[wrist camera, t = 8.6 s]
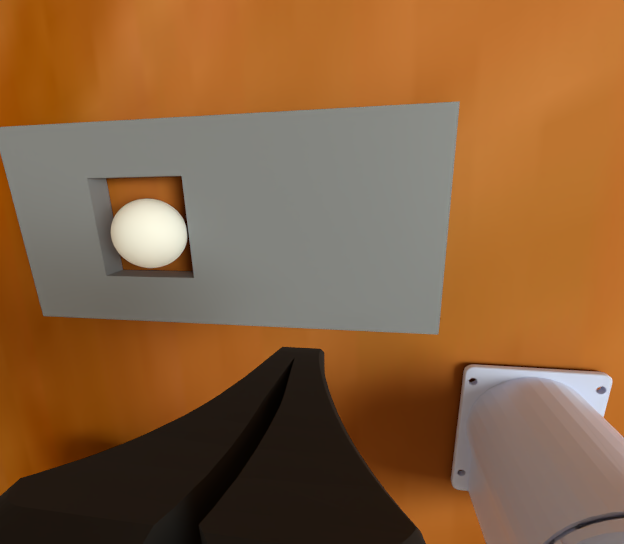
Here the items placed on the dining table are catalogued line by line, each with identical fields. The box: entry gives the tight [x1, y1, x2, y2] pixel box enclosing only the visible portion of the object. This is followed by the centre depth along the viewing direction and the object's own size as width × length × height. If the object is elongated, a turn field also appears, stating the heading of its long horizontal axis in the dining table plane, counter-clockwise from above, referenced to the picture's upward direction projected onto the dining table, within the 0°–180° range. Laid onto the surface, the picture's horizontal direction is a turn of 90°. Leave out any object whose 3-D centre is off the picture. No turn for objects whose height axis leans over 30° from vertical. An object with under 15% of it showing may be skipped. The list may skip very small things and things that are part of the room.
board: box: [0, 102, 460, 334], centre depth 20 cm, size 12×26×2 cm, turn 91°
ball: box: [111, 199, 188, 268], centre depth 19 cm, size 4×4×4 cm
